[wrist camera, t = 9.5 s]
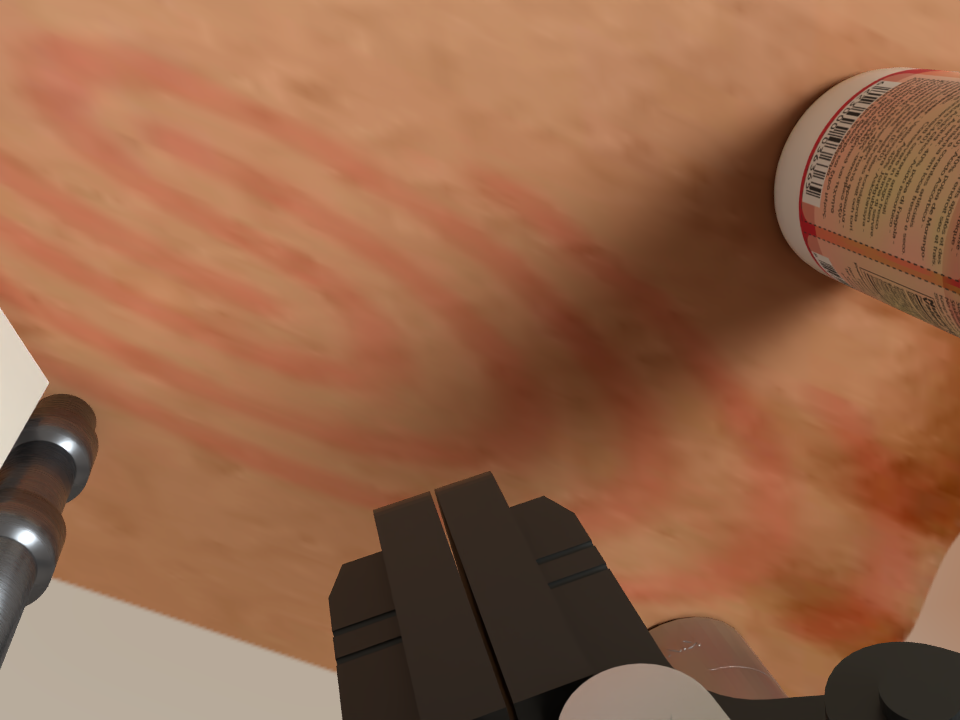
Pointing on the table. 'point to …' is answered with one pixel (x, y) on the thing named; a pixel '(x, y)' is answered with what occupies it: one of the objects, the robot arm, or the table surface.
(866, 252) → the fruit juice
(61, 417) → the gate post
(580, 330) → the table surface
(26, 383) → the gate
